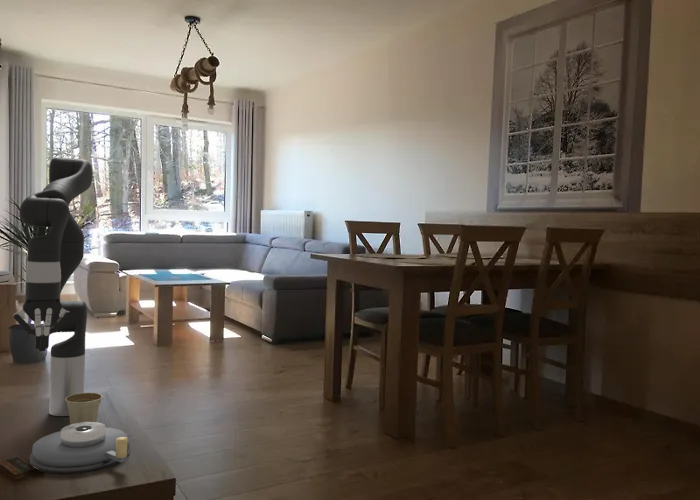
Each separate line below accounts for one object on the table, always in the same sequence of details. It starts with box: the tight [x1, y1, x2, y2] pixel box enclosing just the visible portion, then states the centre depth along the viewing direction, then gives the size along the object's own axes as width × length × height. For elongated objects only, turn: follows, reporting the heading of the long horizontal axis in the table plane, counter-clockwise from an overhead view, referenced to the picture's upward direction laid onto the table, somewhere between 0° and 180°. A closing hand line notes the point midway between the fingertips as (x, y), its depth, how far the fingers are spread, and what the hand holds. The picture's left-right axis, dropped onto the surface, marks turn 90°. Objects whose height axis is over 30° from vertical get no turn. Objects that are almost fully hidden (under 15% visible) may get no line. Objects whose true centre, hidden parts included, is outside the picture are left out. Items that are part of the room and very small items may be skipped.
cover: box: [60, 421, 107, 448], centre depth 140 cm, size 10×10×3 cm
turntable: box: [31, 426, 129, 467], centre depth 139 cm, size 26×21×6 cm
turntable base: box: [29, 442, 131, 475], centre depth 139 cm, size 22×22×1 cm
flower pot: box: [65, 392, 103, 425], centre depth 158 cm, size 9×9×9 cm
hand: (41, 350), depth 140 cm, fingers closed
